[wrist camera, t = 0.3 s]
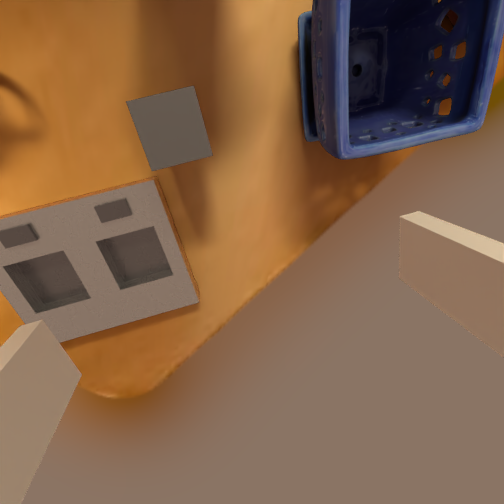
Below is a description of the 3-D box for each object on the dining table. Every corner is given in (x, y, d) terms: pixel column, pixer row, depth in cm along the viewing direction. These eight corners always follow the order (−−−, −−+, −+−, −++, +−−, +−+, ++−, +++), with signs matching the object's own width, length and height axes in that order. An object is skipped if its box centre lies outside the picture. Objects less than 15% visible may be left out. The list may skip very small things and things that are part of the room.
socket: (-26, 223, 30) (-48, 232, 27) (156, 175, 31) (152, 180, 29) (52, 334, 37) (41, 349, 34) (199, 291, 38) (199, 304, 36)
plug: (147, 109, 29) (126, 101, 20) (195, 97, 29) (193, 85, 20) (164, 158, 31) (151, 171, 22) (209, 147, 31) (212, 155, 23)
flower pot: (398, 131, 34) (489, 133, 23) (293, 151, 33) (339, 164, 22) (406, -9, 28) (532, -92, 18) (280, 9, 27) (333, -67, 16)
